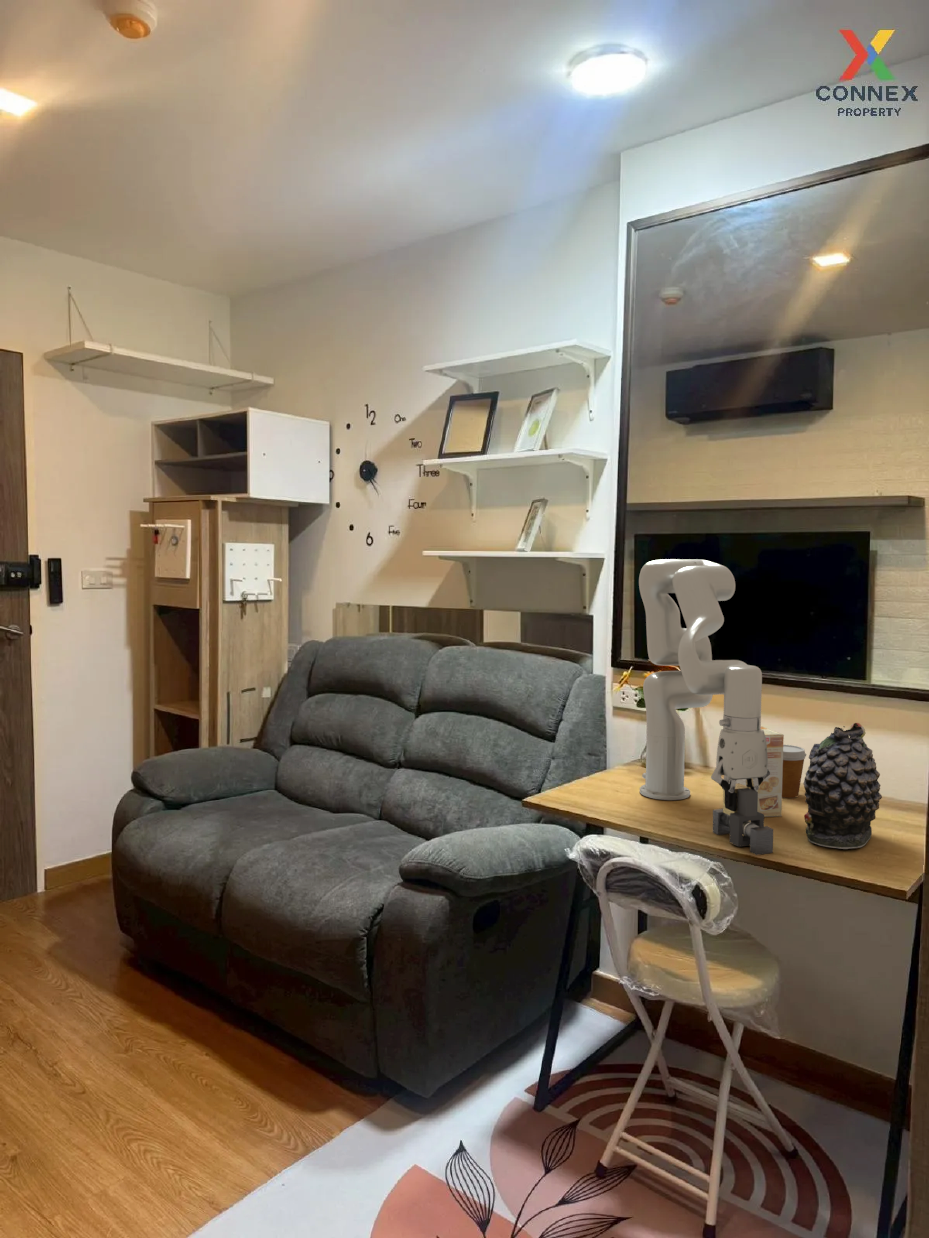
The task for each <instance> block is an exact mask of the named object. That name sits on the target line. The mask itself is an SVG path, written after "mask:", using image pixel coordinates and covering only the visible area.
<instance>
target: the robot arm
mask: <svg viewBox="0 0 929 1238" xmlns="http://www.w3.org/2000/svg"><path fill="white" fill-rule="evenodd" d="M735 580H736V579H735V576H734V575H733V573H732V571H731V570H730V569H729V568H728V567H727V566H725V565H722V564H720V563H717V562H714V561H710V560H706V559H698V558H696V559H690V558H689V559H683V558H682V559H680V558H677V559H676V558H670V559H669V558H668V559H667V558H665V559H663V558H662V559H661V558H660V559H655V560H651V561H648V562H645V564H644V565H643V566H642V568H641V569H640V573H639V577H638V586H639V587H638V588H639V593H640V597H641V599H642V602H643V606H644V611H645V622H646V623H645V626H646V645H647V654H648V659H649V661H650V662H651V663H652V664H654V665H656V666H662V667H663V666H664V667H665V666H666V667H667V666H668V667H669V666H679V669H680V670H662V671H655V672H652V673H650V674H649V675H647V676H646V677H645V679H644V681H643V687H642V688H643V692H642V693H643V697H644V698H643V699H644V706H645V714H646V715H645V716H646V745H645V746H646V753H645V755H646V761H645V763H646V764H645V767H646V769H645V772H643V773H642V775H641V777H642V778H643V779H645V784H642V785H641V786H640V787H639V793H640V794H641V795H642V796H644V797H646V798H650V799H654V800H659V801H661V800H662V801H681V800H685V799H688V798H689V797H690V796H691V789H689V788H688V787H686V786H685V754H686V753H685V749H686V748H685V747H686V745H685V744H686V743H685V742H686V740H685V739H686V735H685V734H686V728H685V727H686V726H685V724H684V721H683V719H682V718H681V717H680V716H679V714H678V712H677V710H678V709H679V710H680V709H691V708H693V709H694V708H696V709H697V708H704V707H707V706H708V705H710V704H711V701H712V700H713V697H714V696H716V695H723V715H722V716H723V718H722V719H719V721H718V723H719V726H721V727H722V728H723V729H720V733H719V738H718V741H717V742H718V743H717V750H716V758H715V759H716V762H715V764H716V765H715V766H716V767H715V769H714V771H713V772H712V774H711V776H710V778H711V780H713V781H714V782H715V783H717V784H718V785H719V786H720V787H721V788H722V791H723V790H725V800H724V803H725V808H727V809H729V810H731V811H736V810H737V793H735V792H734V791H735V786H736V780H740V779H745V780H746V786H748V787H750V788H751V789H752V790H755V791H757V790H758V789H759V785H760V784H761V783H762V782H763V779H765V778H766V777H768V776H769V775H770V772H769V770H768V755H767V744H766V738H765V733H764V730H762V729H761V726H762V723H761V722H762V691H763V690H762V689H763V688H762V687H763V685H762V684H763V673H762V670H761V668H759V666H756V665H750V664H747V663H746V662H744V661H742V660H739V659H715V660H714V659H713V654H712V644H711V642H710V638H709V636H711V635H713V634H714V633H716V632H717V631H718V630H719V629H721V627H723V625H724V622H725V617H724V615H723V612H722V608H721V606H720V604H719V602H721V601H722V602H723V601H724V602H725V601H728V600H730V599H731V598H732V597H733V596H734V594H735V591H736V581H735ZM669 594H675V597H676V599H677V602H678V605H679V607H678V605H677V603H676V602H675V600H674V598H672V597H671V595H669ZM680 611H681V612H680ZM681 614H682V617H683V620H684V623H685V626H686V628H685V627H682V624H681ZM722 776H723V778H722ZM729 781H730V783H729Z"/></svg>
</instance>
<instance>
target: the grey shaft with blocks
mask: <svg viewBox="0 0 929 1238" xmlns="http://www.w3.org/2000/svg"><path fill="white" fill-rule="evenodd" d="M712 833H713V834H715V835H717V836H718V835H719V836H720V835H730V815H728V814H726V813H723V808H717V809H713V810H712ZM743 836H745V837H747V838H750V845H749V852H750V853H752V854H753V855H755V856H758V855H765V854H766V855H768V854H773V853H774V851H773V850H774V849H773V847H774V828H772V827H770V826H768V825H766V826H765V825H764V826H763V827H760V826H757V825H756V824H755V823H753V822H751V821H745V822H743Z"/></svg>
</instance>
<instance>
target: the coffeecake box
mask: <svg viewBox="0 0 929 1238" xmlns="http://www.w3.org/2000/svg"><path fill="white" fill-rule="evenodd" d="M761 729H762V730H764V733H765V738H766V744H767V755H768V770H769V772H770V775H769V776H768V777H766V778H765V779H763V782H762V783H761V784H760V785H759V789H758V790H757V792H758V807H757V812H759V813H762V814H764V818H767V817H768V818H771V817H773V818H774V817H783V815H782V809H783V808H782V807H783V797H782V776H783V745H784V739H785V738H784V736H785V735H784V734H783V733H780V732H777V731H776V730H772V729H770V728H767V727H764V726H762V725H761ZM729 783H730V781H729ZM737 783H740V784H742V785H745V786H746V780H745V779H740V780H736V784H737Z"/></svg>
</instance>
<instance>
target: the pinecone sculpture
mask: <svg viewBox="0 0 929 1238" xmlns="http://www.w3.org/2000/svg"><path fill="white" fill-rule="evenodd" d="M845 728H846V726H844V725H843V728H842V727H839V726H834V729H833V733H832V732H831V733H830V735H828V736H826V737H825V739H823V740H822V741H821V742H820V743H814V744H813V745H812V747H811V750H810V752H809V755H808V759H809V766H808V768H807V771H806V772H805V777H804V781H803V787H804V790H805V792H804V797H805V800H804V802H805V803H806V805H807V812H806V813H804V815H803V818H804V823H805V824H806V828H805V831H804V833H805V834H806V837H807V840H808V842H810V843H812V844H813V845H814V844H815V845H817V846H820V847H824V848H825V847H826V848H833V849H840V850H841V849H843V850H848V849H858V848H863V847H864V846H866V844H867V843H868V842H869V840H871V837H872V833H873V832H872V831H873V830H872V829H873V828H872V826H871V822H872V821H874V820H876V818H877V817H876V812H877V810H880V800H882V799H883V795H882V794H881V793H880V790H881V784H880V782H879V781H878V780H879V778H880V776H881V773H880V772H879V771H878V770H877V762H876V759H875V758H874V757H873V756H874V754H873V749H871V748H869V747H868V744H867V743H866V742H865V741H864V736H865V735H866V729H865V728H864V726H863V725H862V724H861V723H859V722H855V723H852V724H851V725H850V726H849V727H848V728H847V729H845ZM844 729H845V730H844Z"/></svg>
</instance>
